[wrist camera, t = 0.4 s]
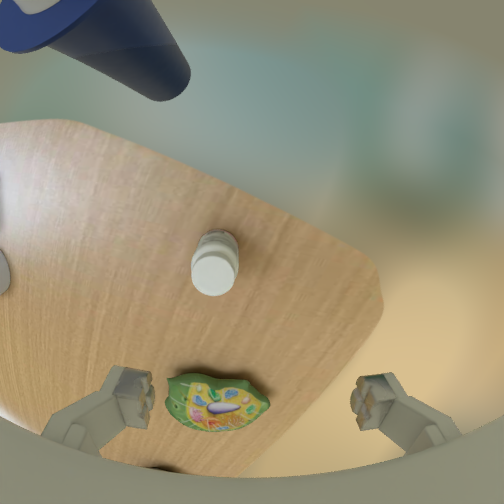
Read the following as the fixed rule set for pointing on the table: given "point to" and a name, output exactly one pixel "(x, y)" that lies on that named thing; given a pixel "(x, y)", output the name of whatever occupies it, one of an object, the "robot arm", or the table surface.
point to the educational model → (214, 402)
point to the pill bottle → (215, 263)
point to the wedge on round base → (4, 274)
